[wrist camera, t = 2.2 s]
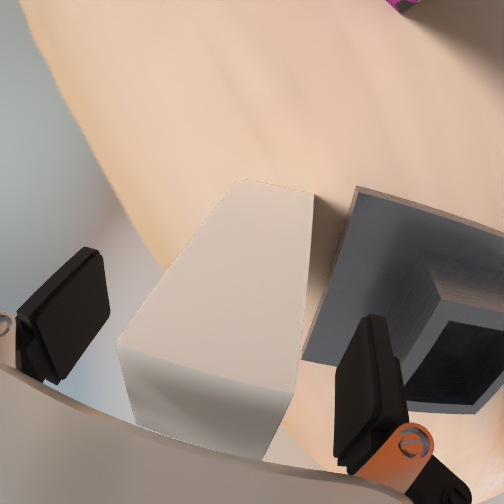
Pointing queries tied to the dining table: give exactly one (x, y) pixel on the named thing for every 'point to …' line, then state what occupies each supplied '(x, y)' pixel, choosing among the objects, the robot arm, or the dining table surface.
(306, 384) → the dining table surface
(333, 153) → the dining table surface
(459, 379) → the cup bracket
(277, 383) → the rail post
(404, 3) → the candy bar box
